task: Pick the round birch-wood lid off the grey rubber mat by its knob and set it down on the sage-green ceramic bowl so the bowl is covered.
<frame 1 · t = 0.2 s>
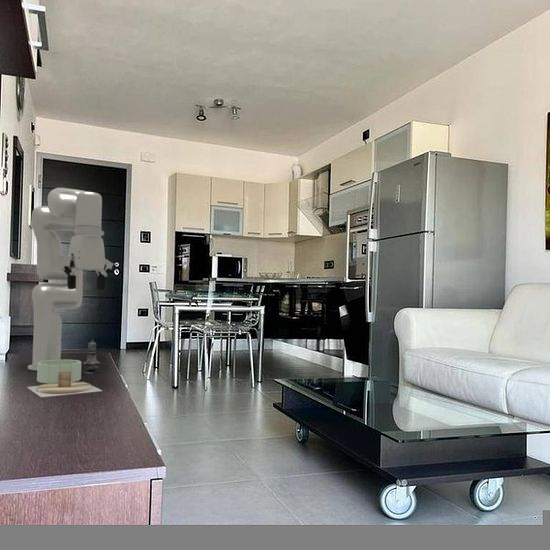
hand: (86, 289, 157), 30 cm above the tv stand, fingers open, 9 cm apart
bowl: (59, 380, 169), on the tv stand
salt shaker: (91, 373, 186), on the tv stand
mat: (64, 390, 154), on the tv stand
lid: (64, 388, 154), resting on mat
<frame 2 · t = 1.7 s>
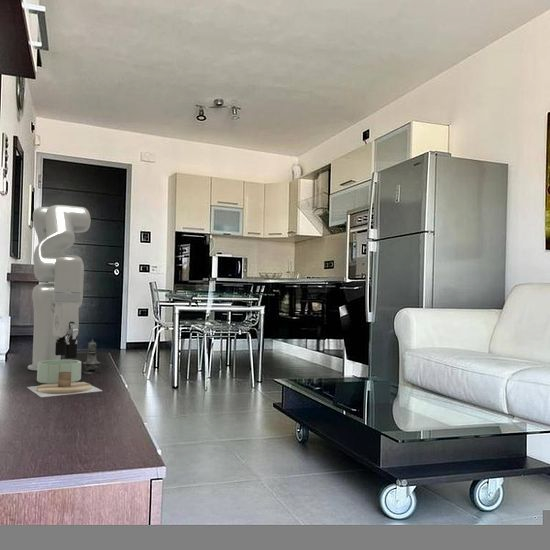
hand: (65, 356, 154), 10 cm above the tv stand, fingers open, 9 cm apart
nothing on the tv stand moved.
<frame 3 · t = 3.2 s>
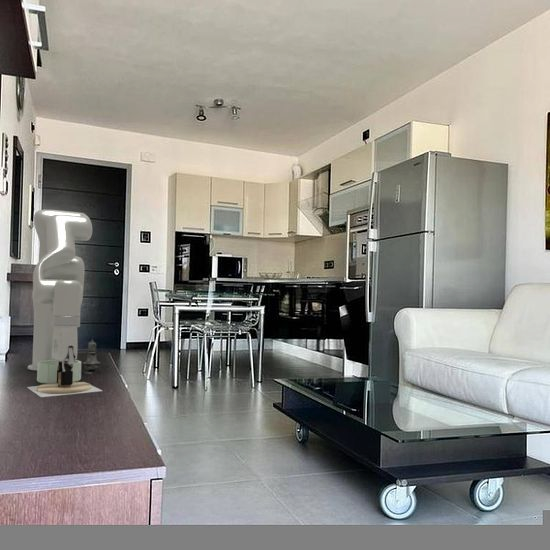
hand: (64, 383, 154), 2 cm above the tv stand, fingers closed on lid, 3 cm apart
lid: (64, 388, 154), resting on mat, touching gripper
everything else where it was.
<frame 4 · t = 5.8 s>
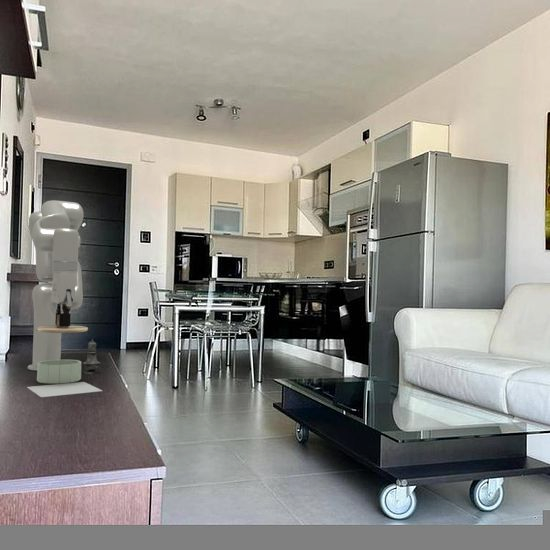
hand: (62, 325, 164), 18 cm above the tv stand, fingers closed on lid, 3 cm apart
lid: (62, 330, 164), point 17 cm above the tv stand, touching gripper
everything else where it was.
when the fingers open (9 cm above the tv stand, at t = 8.4 s): lid drops 2 cm, resting on bowl.
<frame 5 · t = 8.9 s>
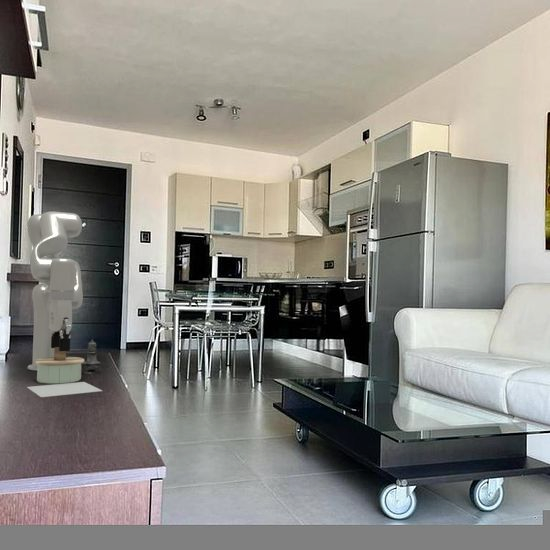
hand: (60, 349, 169), 10 cm above the tv stand, fingers open, 9 cm apart
lid: (59, 362, 169), point 6 cm above the tv stand, touching bowl
everything else where it was.
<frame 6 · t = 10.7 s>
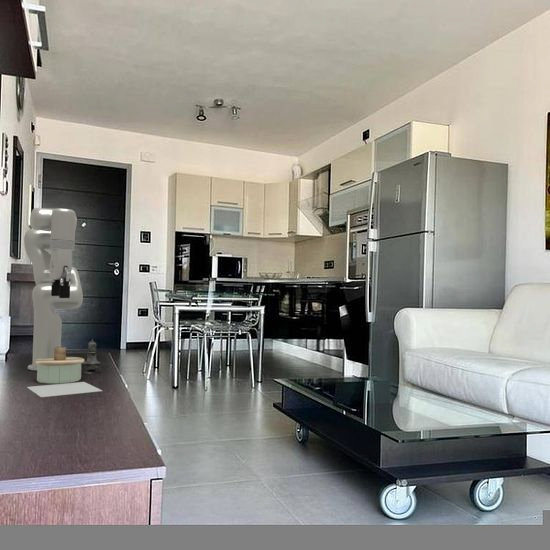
hand: (60, 296, 174), 27 cm above the tv stand, fingers open, 9 cm apart
nothing on the tv stand moved.
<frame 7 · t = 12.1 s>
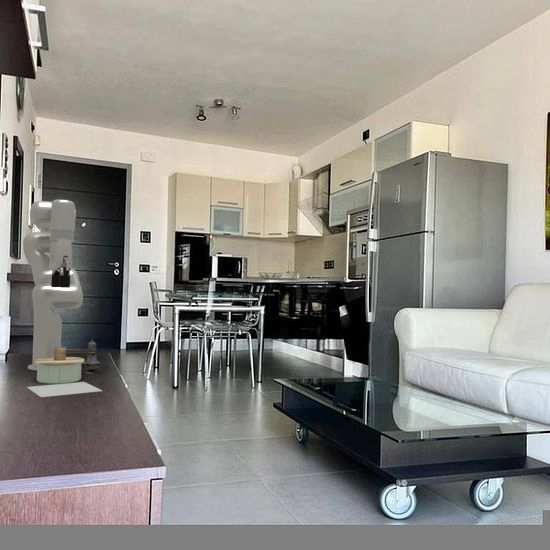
hand: (60, 287, 175), 30 cm above the tv stand, fingers open, 9 cm apart
nothing on the tv stand moved.
at the end: lid 0.1 cm off-centre on the bowl, point 6.0 cm above the bowl's base; lid tilted 0°; the gripper is holding nothing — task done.
